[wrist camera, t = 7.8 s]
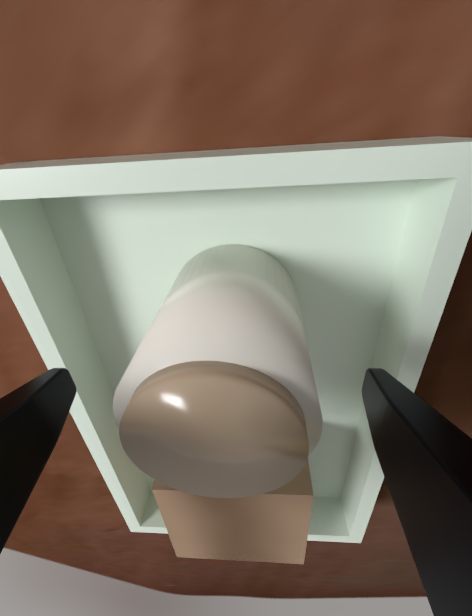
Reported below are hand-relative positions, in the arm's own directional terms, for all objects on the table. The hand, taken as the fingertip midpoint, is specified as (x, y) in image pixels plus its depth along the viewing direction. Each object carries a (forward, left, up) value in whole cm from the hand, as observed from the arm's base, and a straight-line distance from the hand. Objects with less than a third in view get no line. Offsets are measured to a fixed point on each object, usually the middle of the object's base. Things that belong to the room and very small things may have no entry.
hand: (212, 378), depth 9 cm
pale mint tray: (0, +5, -5) cm, 7 cm away
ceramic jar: (0, 0, -4) cm, 4 cm away
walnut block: (0, +11, -4) cm, 11 cm away
